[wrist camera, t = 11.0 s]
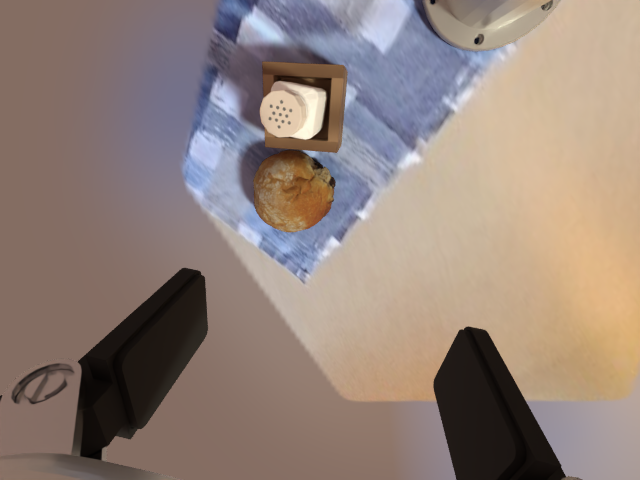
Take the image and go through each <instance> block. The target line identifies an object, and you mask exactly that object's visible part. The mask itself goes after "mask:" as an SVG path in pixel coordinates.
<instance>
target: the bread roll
mask: <svg viewBox="0 0 640 480" xmlns="http://www.w3.org/2000/svg"><path fill="white" fill-rule="evenodd" d="M253 182H254V189H255V190H254V204H255V209H256V212H257V213H258V215H259V217H260V218H261V219H262V220H263V221H264V222H265V223H267V224H268V225H270V226H272V227H273V228H275V229H278V230H281V231H284V232H296V231H300V230H304V229H308V228H310V227H312V226H314V225H315V224H317V223H318V222H319V221H321V219H322V218H323V217H324V216H326V214H327V213H328V212H329V210H330V209H331V204H332V202H333V201H334V198H333V195H334V187H335V180H334V178H333V177H331V175H330V172H329V170H328V169H327V168H326V167H324V168H323V165H321V164H319V163H315V162H314V161H313V160H312V158H311V157H309V156H308V155H306V154H304V153H301V152H300V151H294V150H286V151H282V152H280V153H279V154H274V155H272V156H270V157H268V158H266V159H265V160H264V161H263V162H262V163H261V165H260V167H259V169H258V171H257V172H256V175H255V177H254V180H253Z"/></svg>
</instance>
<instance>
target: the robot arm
mask: <svg viewBox="0 0 640 480" xmlns="http://www.w3.org/2000/svg"><path fill="white" fill-rule="evenodd" d="M560 1H561V0H435V4H433V5H432V4H430V0H422V3H423V6H424V10H425V13H426V16H427V18H428V20H429V22H430V24H431V26H432V28H433V29H434V30H435V32H436V33H437V34H438V35H439V36H440V37H441V38H442V39H443V40H444V41H446V42H447V43H449V44H450V45H452V46H454V47H456V48H459V49H462V50H466V51H474V52H478V51H489V50H493V49H496V48H499V47H503V46H505V45H507V44H510V43H512V42H514V41H516V40H518V39H520V38H521V37H523V36H525V35H526V34H528V33H529V32H531V31H532V30H533V29H534V28H535V27H537V26H538V25H539V24H540V23H542V22H543V21H544V20H545V19H546V18H547V17H548V16H549V15H550V14H551V13H552V11H553V10H554V9H555V8H556V7H557V5H558V4H559V3H560ZM542 5H544V9H543V10H542V8H541V6H542ZM475 38H477V39H478V43H477V44H475V43H474V40H475ZM207 324H208V323H207V306H206V288H205V277H204V276H202V275H201V272H200V271H198V270H193V269H188V268H182V269H181V270H180V271H179V272H177V273H176V274H175V275H174V276H173V277H172V278H171V279H170V280H168V281H167V282H166V283H165V284H164V285H163V286H162V287H161V288H160V289H158V290H157V291H156V292H155V293H154V294H153V295H152V296H151V297H150V298H148V299H147V300H146V301H145V302H144V303H143V304H141V305H140V306H139V307H138V308H137V309H136V310H135V311H134V312H133V313H131V314H130V315H129V316H128V317H127V318H126V319H125V320H124V321H122V322H121V323H120V324H119V325H118V326H117V327H116V328H115V329H114V330H112V331H111V332H110V333H109V334H108V335H107V336H106V337H105V338H104V339H103V340H101V341H100V342H99V343H98V344H97V345H96V346H95V347H93V349H91V350H90V351H89V352H88V353H87V354H86V355H85V356H84V357H82V358H81V359H80V360H79V361H78V362H77V361H74V360H72V359H55V360H50V361H47V362H44V363H41V364H38V365H36V366H34V367H32V368H31V369H29V370H27V371H25V372H24V373H22V374H21V375H20V376H18V377H17V378H15V379H14V380H13V382H12V383H11V384H10V385H9V386H8V387H7V389H6V390H5V392H4V393H3V395H1V396H0V480H181V479H178V478H174V477H170V476H166V475H161V474H158V473H154V472H150V471H145V470H141V469H136V468H132V467H127V466H123V465H118V464H114V463H110V462H106V459H107V446H108V445H109V444H110V442H111V441H112V440H113V438H114V437H115V436H119V437H123V438H127V439H131V438H132V437H133V435H134V434H135V432H136V431H137V429H142V428H143V427H144V426H145V425H146V424H147V423H148V421H149V420H150V418H151V417H152V415H153V414H154V412H155V411H156V409H157V408H158V406H159V405H160V404H161V402H162V400H163V399H164V397H165V396H166V394H167V393H168V392H169V390H170V389H171V387H172V386H173V384H174V383H175V381H176V380H177V379H178V377H179V375H180V374H181V373H182V371H183V370H184V368H185V367H186V365H187V364H188V362H189V361H190V359H191V358H192V356H193V355H194V353H195V352H196V350H197V349H198V348H199V346H200V345H201V343H202V342H203V340H204V339H205V337H206V335H207V331H208V325H207ZM434 392H435V396H436V400H437V404H438V407H439V412H440V416H441V420H442V424H443V427H444V431H445V436H446V439H447V444H448V448H449V452H450V455H451V460H452V463H453V467H454V471H455V475H456V479H457V480H582V479H579V478H576V477H569V476H568V477H566V476H565V474H564V472H563V470H562V468H561V464H560V463H559V461H558V459H557V457H556V455H555V453H554V452H553V450H552V448H551V446H550V444H549V443H548V441H547V439H546V437H545V435H544V433H543V432H542V430H541V428H540V426H539V424H538V423H537V421H536V419H535V417H534V415H533V414H532V412H531V410H530V408H529V406H528V404H527V403H526V401H525V399H524V397H523V395H522V394H521V392H520V390H519V388H518V386H517V385H516V383H515V381H514V379H513V377H512V376H511V374H510V372H509V370H508V368H507V366H506V365H505V363H504V361H503V359H502V357H501V356H500V354H499V352H498V350H497V348H496V347H495V345H494V343H493V341H492V339H491V338H490V336H489V334H488V332H487V331H485V330H483V329H478V328H473V327H466V328H465V329H464V330H459V332H458V334H457V336H456V338H455V340H454V342H453V344H452V345H451V347H450V349H449V351H448V353H447V355H446V357H445V359H444V361H443V363H442V365H441V367H440V369H439V371H438V373H437V375H436V377H435V379H434Z"/></svg>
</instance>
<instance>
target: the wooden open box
mask: <svg viewBox="0 0 640 480" xmlns="http://www.w3.org/2000/svg"><path fill="white" fill-rule="evenodd" d="M262 68H263V96H264V97H265V96H266V95H268V94H269V93H270V92H271V88H272V86H273V84H274V83H275V82H278V81H284V82H293V83H299V84H303V85H308V86H313V87H317V88H322V89H324V90H325V91H327V95H328V99H327V105H326V111H325V116H324V122H323V127H322V129H321V131H320V132H318V133H317V134H316V135H314V136H313V137H312V138H310V139H306V140H304V139H299V138H294V137H276V136H275V135H273V134H271V133H269V132H268V131H267V130H266V128H265V147H272V148H284V149H297V150H310V151H322V152H335V153H337V152H338V150H339V148H340V146H341V143H342V131H343V120H344V108H345V96H346V84H347V70H346V68H345V66H344V65H328V64H307V63H285V62H263V61H262Z"/></svg>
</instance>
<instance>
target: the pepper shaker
mask: <svg viewBox="0 0 640 480" xmlns="http://www.w3.org/2000/svg"><path fill="white" fill-rule="evenodd" d="M327 99H328V95H327V91H325V90H324V89H322V88H317V87H313V86H308V85H303V84H299V83H293V82H284V81H278V82H275V83H274V84H273V86H272V88H271V92H270V93H269V94H268V95H266V96H265V97H264V98H263V100H262V103H261V107H260V116H261V122H262V124H263V125H264V127H265V128H266V130H267V131H268V132H269V133H271V134H273V135H275V136H276V137H294V138H299V139H304V140H306V139H310V138H312V137H313V136H314V135H316V134H317V133H318V132H320V131H321V129H322V127H323V122H324V116H325V111H326V105H327Z"/></svg>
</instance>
